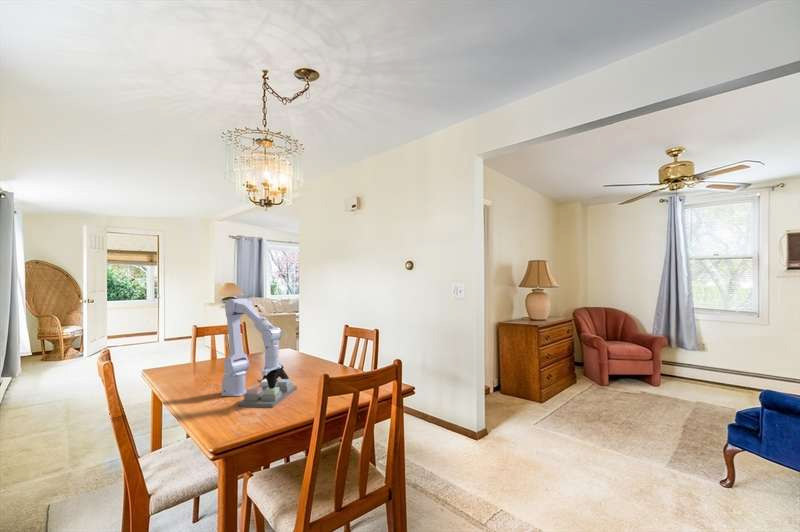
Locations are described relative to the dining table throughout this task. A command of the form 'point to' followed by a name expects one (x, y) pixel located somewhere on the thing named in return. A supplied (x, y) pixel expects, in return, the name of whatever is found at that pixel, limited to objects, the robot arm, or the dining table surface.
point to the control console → (267, 397)
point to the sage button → (271, 391)
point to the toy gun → (280, 374)
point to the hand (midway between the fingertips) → (271, 387)
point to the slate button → (284, 382)
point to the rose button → (254, 390)
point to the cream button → (264, 382)
